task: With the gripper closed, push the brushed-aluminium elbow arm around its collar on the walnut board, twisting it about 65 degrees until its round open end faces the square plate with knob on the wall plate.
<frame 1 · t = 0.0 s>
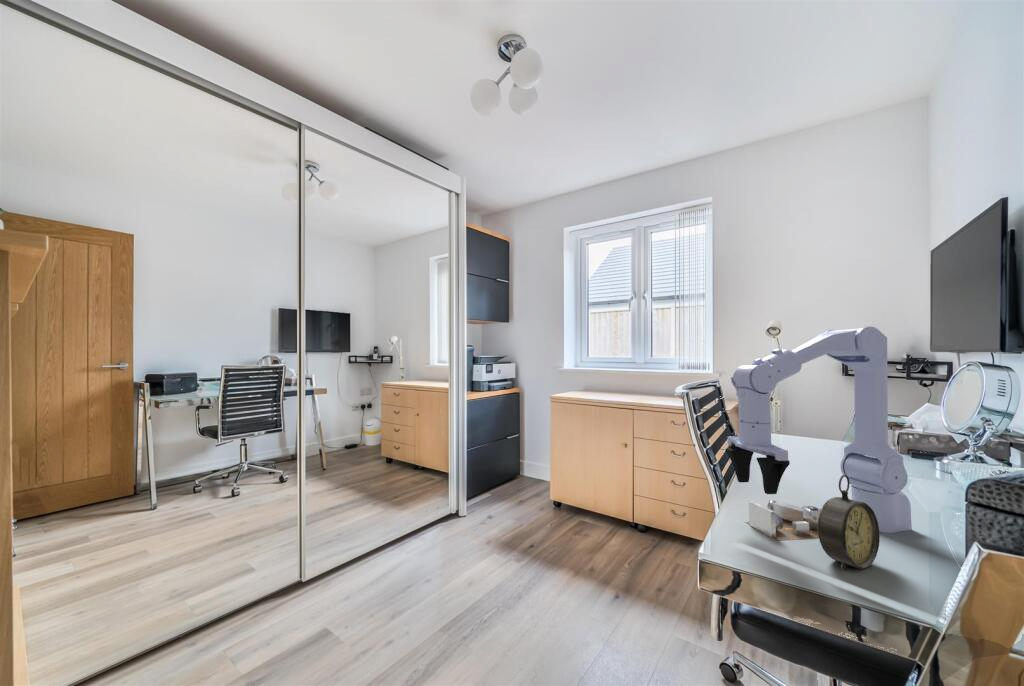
hand: (756, 487, 81), 10 cm above the table, tool pointing down, fingers open, 7 cm apart
board: (796, 533, 82), on the table
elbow: (795, 512, 86), point 3 cm above the table, hinge at 0.0°
square plate with knob: (768, 535, 82), resting on board
alarm clock: (847, 569, 69), on the table
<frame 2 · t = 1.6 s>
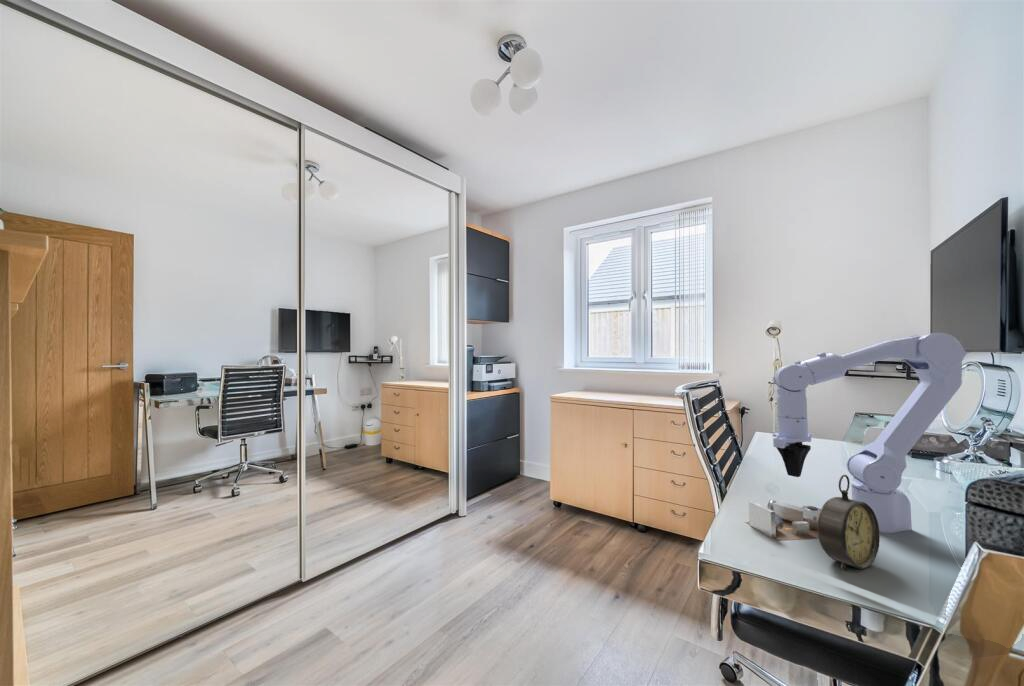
hand: (794, 475, 91), 10 cm above the table, tool pointing down, fingers closed
nothing on the table moved.
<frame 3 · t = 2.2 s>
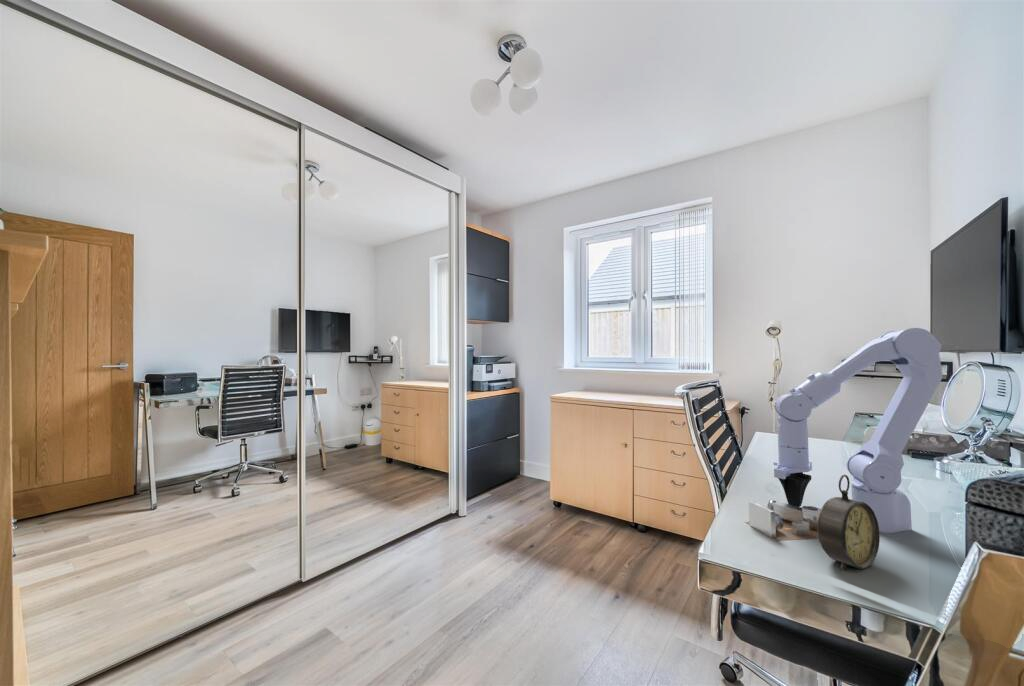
hand: (794, 505, 90), 3 cm above the table, tool pointing down, fingers closed
nothing on the table moved.
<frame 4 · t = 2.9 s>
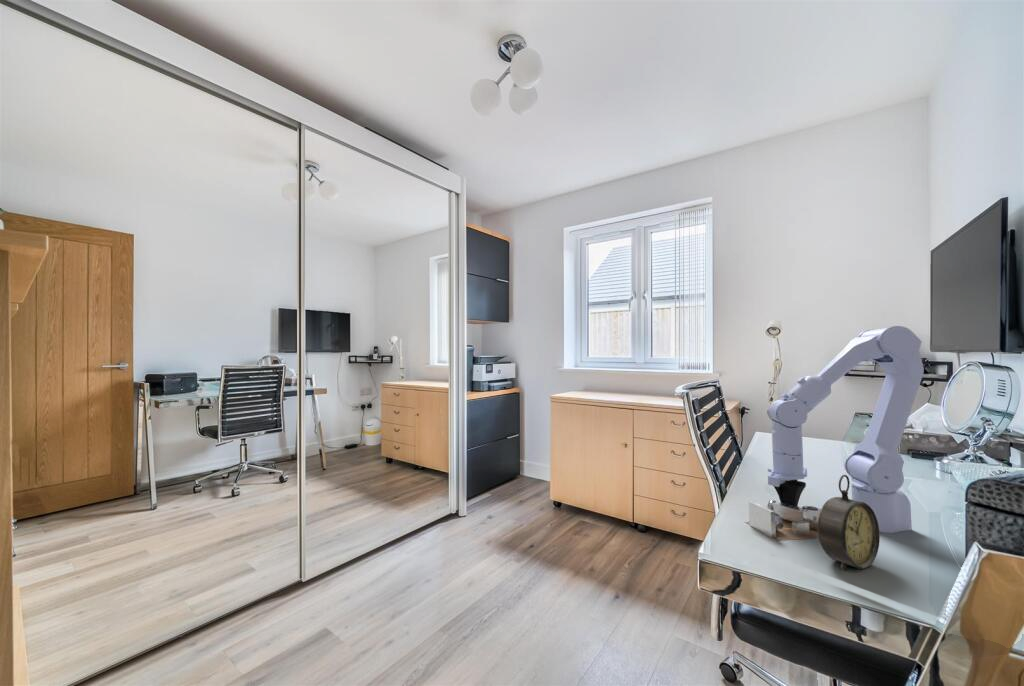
hand: (789, 513, 89), 2 cm above the table, tool pointing down, fingers closed
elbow: (795, 512, 86), point 3 cm above the table, hinge at 0.0°, touching gripper
everything else where it was.
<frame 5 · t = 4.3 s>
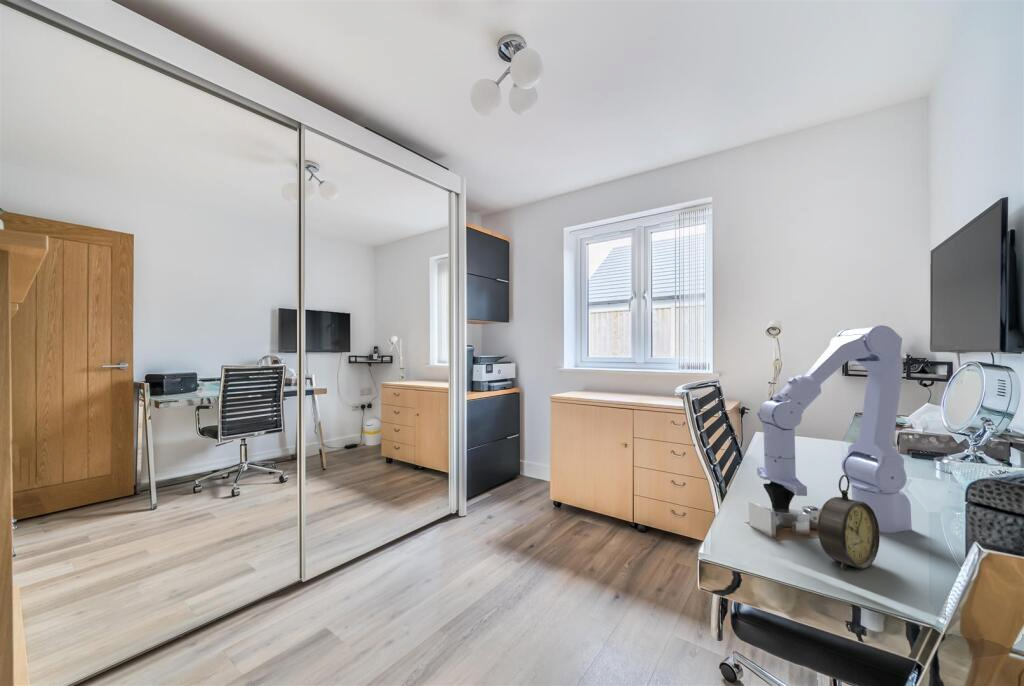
hand: (780, 518, 85), 2 cm above the table, tool pointing down, fingers closed, pressing on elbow
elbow: (796, 516, 84), point 3 cm above the table, hinge at 48.9°, touching gripper
everything else where it was.
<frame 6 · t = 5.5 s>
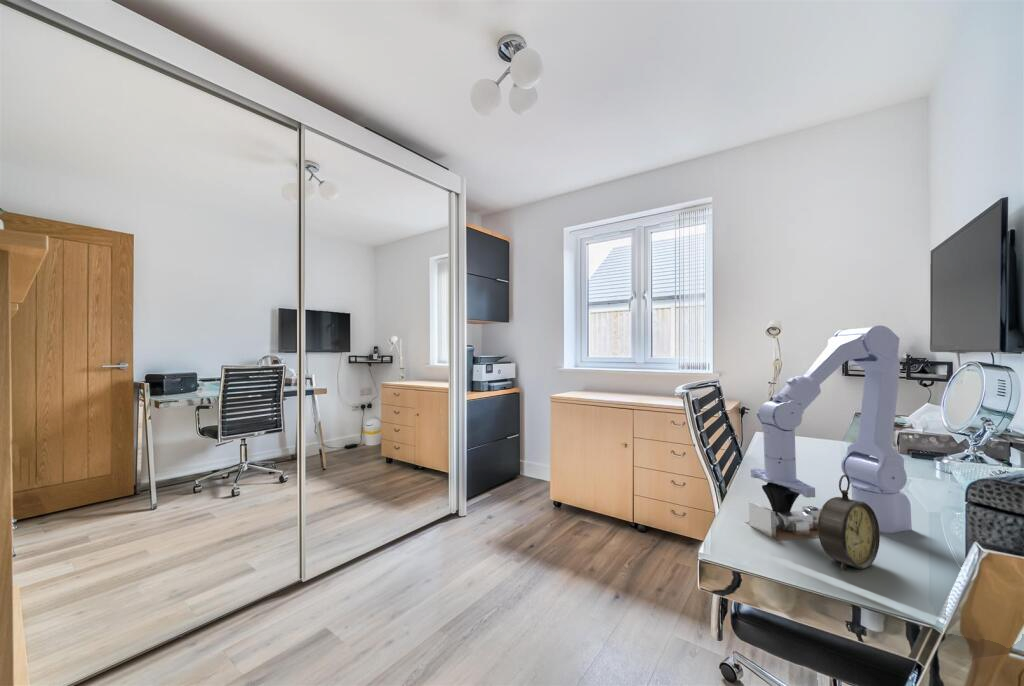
hand: (781, 520, 85), 2 cm above the table, tool pointing down, fingers closed
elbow: (800, 518, 83), point 3 cm above the table, hinge at 67.5°, touching gripper
everything else where it was.
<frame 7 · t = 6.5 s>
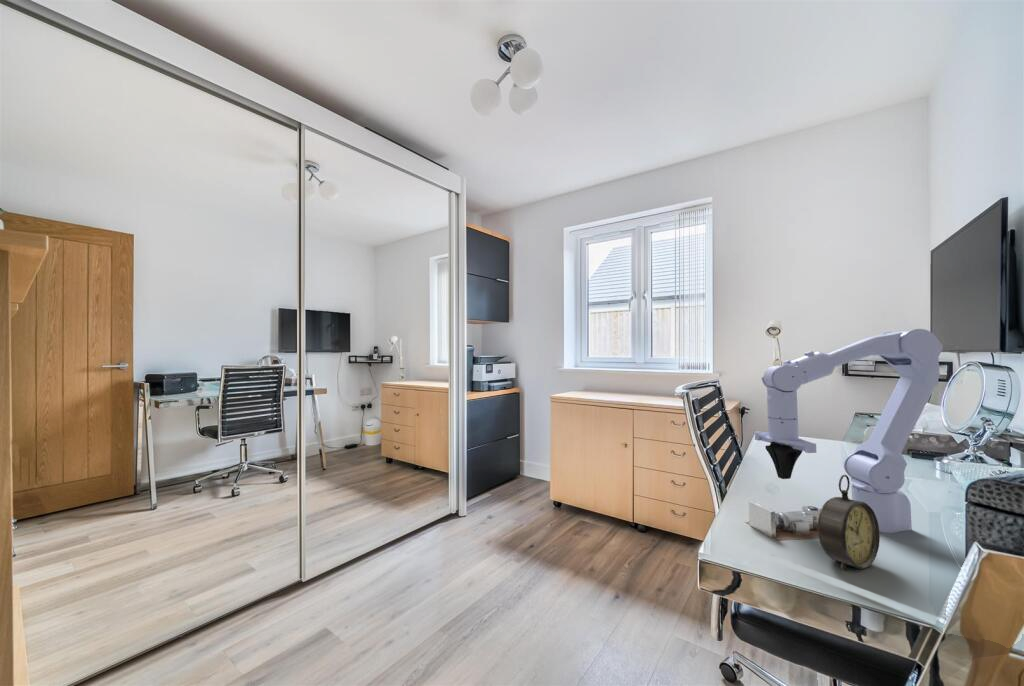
hand: (784, 478, 89), 10 cm above the table, tool pointing down, fingers closed
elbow: (800, 518, 82), point 3 cm above the table, hinge at 67.7°
everything else where it was.
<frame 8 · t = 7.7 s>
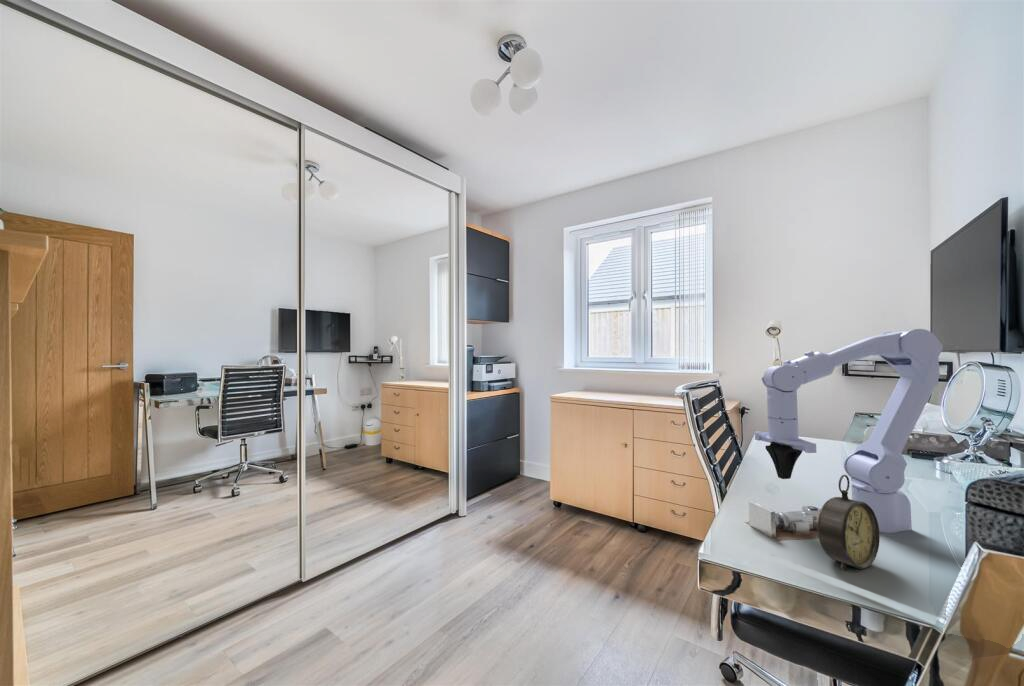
hand: (784, 478, 89), 10 cm above the table, tool pointing down, fingers closed
nothing on the table moved.
at the end: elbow at +68° (first picture: +0°) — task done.
